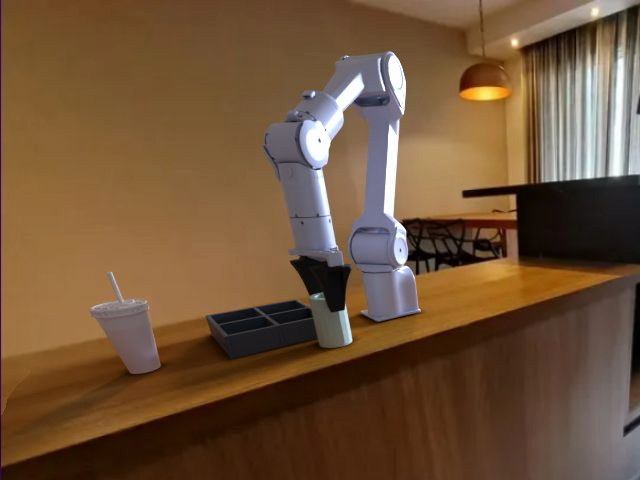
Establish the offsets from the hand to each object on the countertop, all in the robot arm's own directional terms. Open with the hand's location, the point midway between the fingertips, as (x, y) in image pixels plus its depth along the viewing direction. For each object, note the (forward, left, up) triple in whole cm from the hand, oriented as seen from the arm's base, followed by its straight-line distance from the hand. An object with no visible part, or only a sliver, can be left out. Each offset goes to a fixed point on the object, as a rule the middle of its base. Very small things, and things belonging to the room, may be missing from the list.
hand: (328, 306), depth 70 cm
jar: (0, 0, -6) cm, 6 cm away
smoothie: (+25, -9, -6) cm, 27 cm away
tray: (+7, -12, -6) cm, 15 cm away
